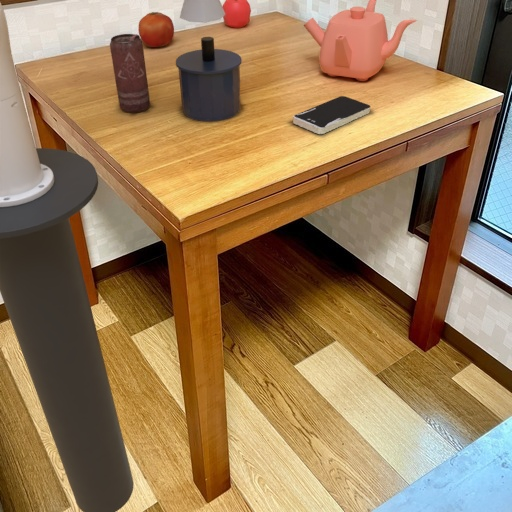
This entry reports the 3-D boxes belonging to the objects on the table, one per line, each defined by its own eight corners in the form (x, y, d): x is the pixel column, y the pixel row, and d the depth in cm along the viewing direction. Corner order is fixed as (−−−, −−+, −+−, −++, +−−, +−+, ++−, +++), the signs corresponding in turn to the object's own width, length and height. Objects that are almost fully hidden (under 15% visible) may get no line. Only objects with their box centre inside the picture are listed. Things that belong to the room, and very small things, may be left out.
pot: (205, 126, 114) (202, 78, 108) (171, 108, 121) (166, 61, 115) (252, 109, 119) (251, 63, 114) (216, 93, 127) (214, 48, 121)
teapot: (369, 53, 145) (375, -7, 137) (409, 79, 131) (418, 14, 123) (300, 63, 140) (302, 1, 132) (333, 91, 126) (338, 24, 118)
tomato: (147, 53, 147) (142, 19, 142) (135, 42, 154) (130, 10, 149) (182, 47, 151) (179, 14, 146) (168, 37, 157) (165, 5, 152)
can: (157, 105, 122) (149, 35, 113) (136, 116, 118) (126, 44, 109) (135, 99, 125) (125, 30, 116) (113, 109, 120) (102, 39, 112)
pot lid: (202, 82, 108) (200, 54, 104) (163, 64, 115) (160, 37, 112) (255, 66, 114) (254, 39, 111) (215, 50, 122) (213, 24, 119)
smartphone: (372, 106, 117) (321, 129, 109) (371, 112, 118) (320, 135, 110) (342, 95, 122) (291, 116, 114) (342, 101, 122) (290, 123, 114)
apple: (216, 26, 164) (214, -5, 159) (235, 19, 169) (234, -11, 164) (238, 31, 160) (237, 0, 155) (257, 24, 165) (256, -6, 160)
